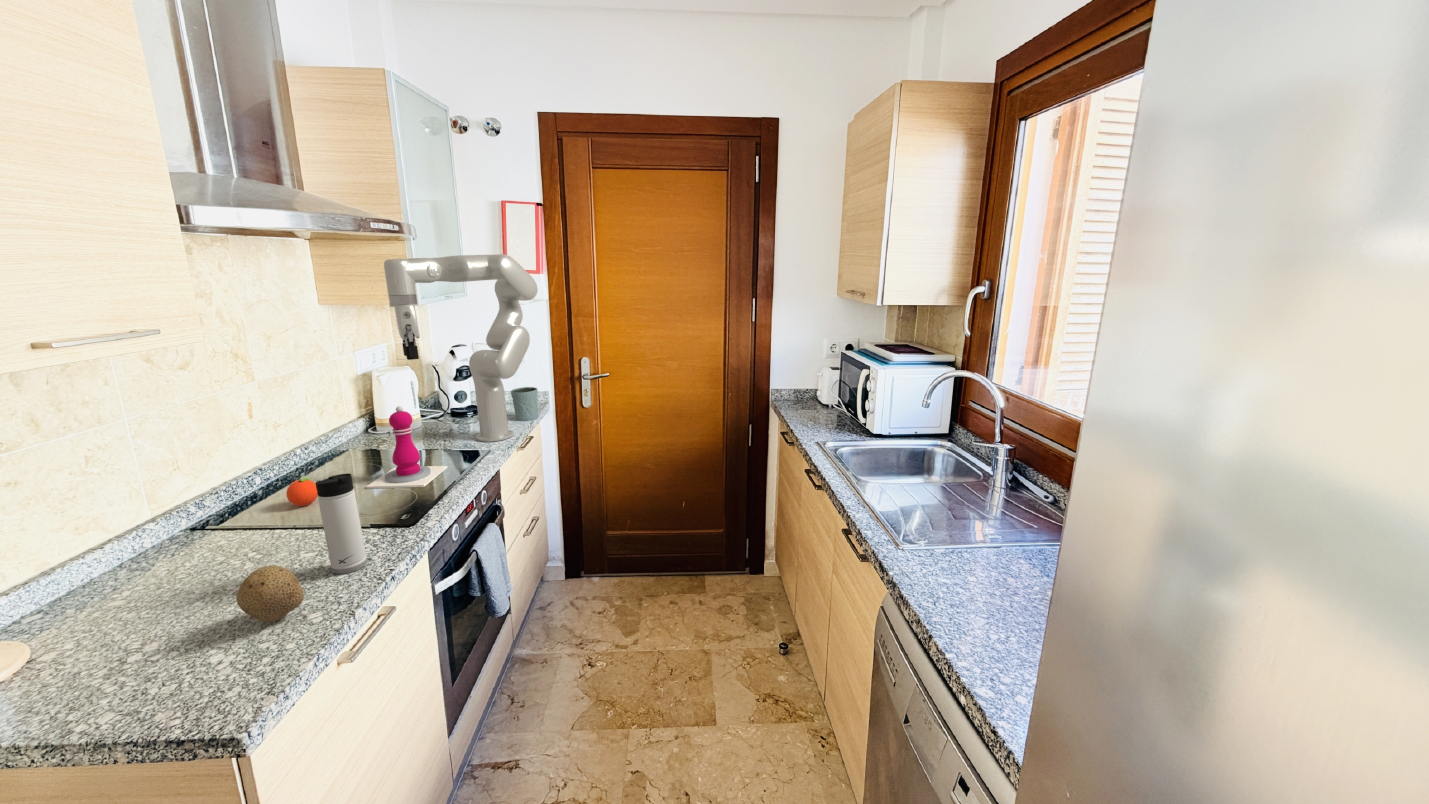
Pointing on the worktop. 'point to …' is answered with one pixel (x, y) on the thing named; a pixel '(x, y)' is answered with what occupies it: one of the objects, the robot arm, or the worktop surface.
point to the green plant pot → (525, 403)
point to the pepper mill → (404, 444)
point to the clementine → (302, 492)
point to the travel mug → (341, 523)
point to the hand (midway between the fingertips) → (411, 357)
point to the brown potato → (270, 593)
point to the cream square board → (407, 478)
